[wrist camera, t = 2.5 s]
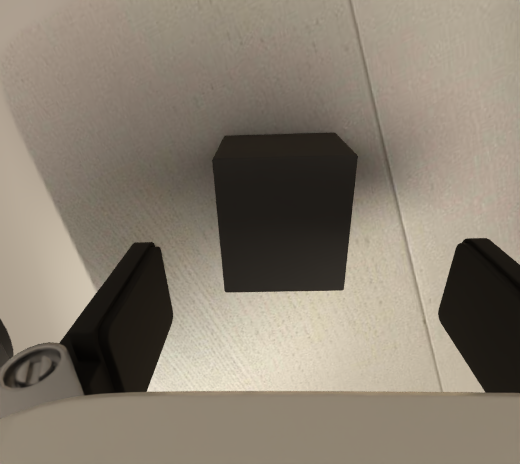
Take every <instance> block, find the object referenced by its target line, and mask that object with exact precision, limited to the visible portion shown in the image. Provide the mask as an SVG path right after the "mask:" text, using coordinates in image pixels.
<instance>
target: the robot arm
mask: <svg viewBox="0 0 520 464" xmlns="http://www.w3.org/2000/svg"><path fill="white" fill-rule="evenodd" d="M438 315H439V320H440V322H441V324H442V325H443V327H444V329H445V330H446V332H447V333H448V335H449V336H450V338H451V339H452V341H453V343H454V344H455V346H456V347H457V349H458V350H459V352H460V353H461V355H462V357H463V358H464V360H465V361H466V363H467V364H468V366H469V367H470V369H471V371H472V372H473V374H474V375H475V377H476V378H477V380H478V381H479V383H480V385H481V386H482V388H483V389H484V391H485V392H486V393H473V392H354V391H176V392H147V389H148V386H149V383H150V381H151V378H152V375H153V373H154V370H155V367H156V365H157V362H158V359H159V356H160V354H161V351H162V348H163V346H164V343H165V340H166V338H167V335H168V332H169V330H170V327H171V324H172V320H173V310H172V305H171V300H170V294H169V289H168V284H167V279H166V274H165V268H164V263H163V258H162V253H161V249H160V247H155V245H154V243H153V242H136V243H133V244H132V246H131V247H130V249H129V250H128V251H127V253H126V254H125V255H124V257H123V258H122V259H121V261H120V262H119V263H118V265H117V266H116V267H115V269H114V270H113V272H112V273H111V274H110V276H109V277H108V278H107V280H106V281H105V282H104V284H103V285H102V286H101V288H100V289H99V290H98V292H97V293H96V294H95V296H94V297H93V298H92V300H91V301H90V302H89V304H88V305H87V306H86V308H85V309H84V311H83V312H82V313H81V315H80V316H79V317H78V319H77V320H76V321H75V323H74V324H73V325H72V327H71V328H70V330H69V331H68V332H67V334H66V335H65V336H64V338H63V339H62V340H61V342H60V343H50V342H49V343H43V344H38V345H35V346H32V347H29V348H27V349H25V350H23V351H21V352H20V353H18V354H17V355H15V356H13V357H12V358H11V359H9V360H8V361H7V362H6V363H5V364H4V365H3V366H2V367H1V368H0V464H520V265H519V264H518V263H517V262H516V261H514V260H513V259H512V258H511V257H510V256H508V255H507V254H506V253H505V252H504V251H502V250H501V249H500V248H499V247H498V246H496V245H495V244H494V243H493V242H492V241H490V240H489V239H487V238H469V239H465V240H464V241H463V242H462V243H460V244H458V245H457V247H456V250H455V254H454V257H453V261H452V264H451V268H450V272H449V275H448V279H447V282H446V286H445V289H444V293H443V297H442V300H441V304H440V307H439V312H438Z"/></svg>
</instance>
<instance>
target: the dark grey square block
mask: <svg viewBox="0 0 520 464" xmlns="http://www.w3.org/2000/svg"><path fill="white" fill-rule="evenodd" d="M357 158H358V156H357V154H356V153H355V152H354V151H353V150H352V149H351V148H350V147H349V146H348V145H347V144H346V143H345V142H344V141H343V140H342V139H341V138H340V137H339V136H338V135H337V134H336V133H308V134H272V135H235V136H224V138H223V140H222V142H221V144H220V146H219V148H218V150H217V152H216V154H215V156H214V157H213V160H212V163H213V173H214V184H215V194H216V205H217V215H218V226H219V236H220V247H221V257H222V268H223V278H224V289H225V292H276V291H333V290H343V289H344V282H345V272H346V263H347V253H348V244H349V234H350V225H351V215H352V206H353V196H354V187H355V177H356V168H357Z"/></svg>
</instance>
